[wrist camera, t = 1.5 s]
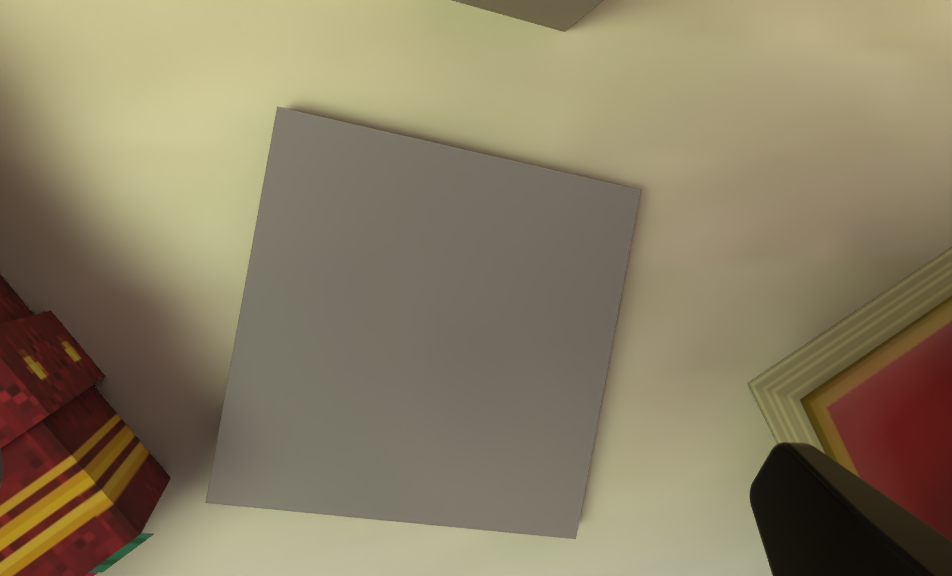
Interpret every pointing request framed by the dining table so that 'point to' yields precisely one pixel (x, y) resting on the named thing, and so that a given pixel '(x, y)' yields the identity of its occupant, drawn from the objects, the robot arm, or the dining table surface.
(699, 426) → the dining table surface
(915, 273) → the hardcover book
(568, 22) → the grey tall piece
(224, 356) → the dining table surface
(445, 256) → the plate
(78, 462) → the decorative book
